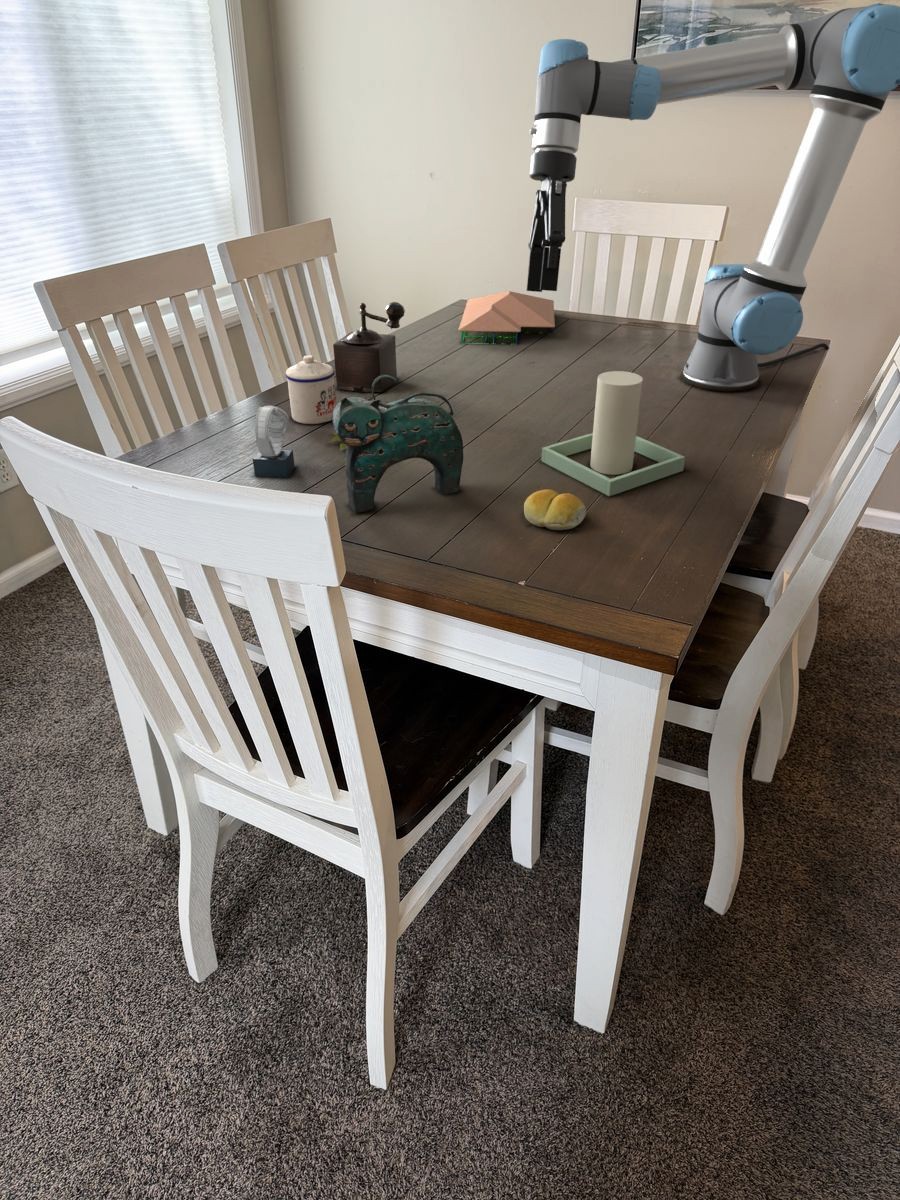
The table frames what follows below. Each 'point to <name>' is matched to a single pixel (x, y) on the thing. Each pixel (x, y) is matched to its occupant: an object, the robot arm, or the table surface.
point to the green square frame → (665, 467)
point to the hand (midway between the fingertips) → (540, 291)
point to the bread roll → (554, 510)
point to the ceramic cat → (396, 442)
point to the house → (506, 314)
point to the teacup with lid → (311, 391)
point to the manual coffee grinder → (368, 354)
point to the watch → (272, 444)
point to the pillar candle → (615, 422)
